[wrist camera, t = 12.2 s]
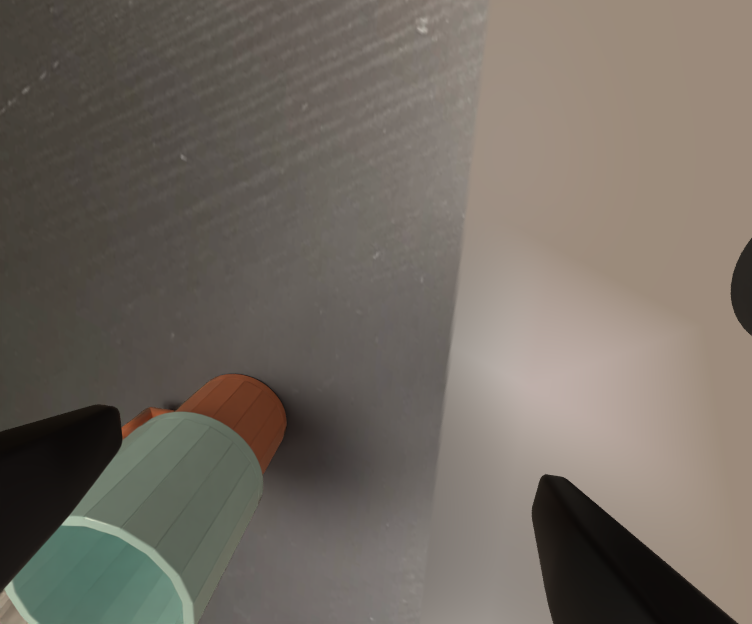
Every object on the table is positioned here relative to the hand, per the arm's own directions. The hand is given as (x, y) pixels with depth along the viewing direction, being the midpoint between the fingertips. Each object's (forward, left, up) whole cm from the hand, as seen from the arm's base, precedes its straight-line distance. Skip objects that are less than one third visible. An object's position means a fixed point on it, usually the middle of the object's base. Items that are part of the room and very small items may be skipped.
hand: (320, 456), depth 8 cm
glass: (+8, +9, -8) cm, 14 cm away
